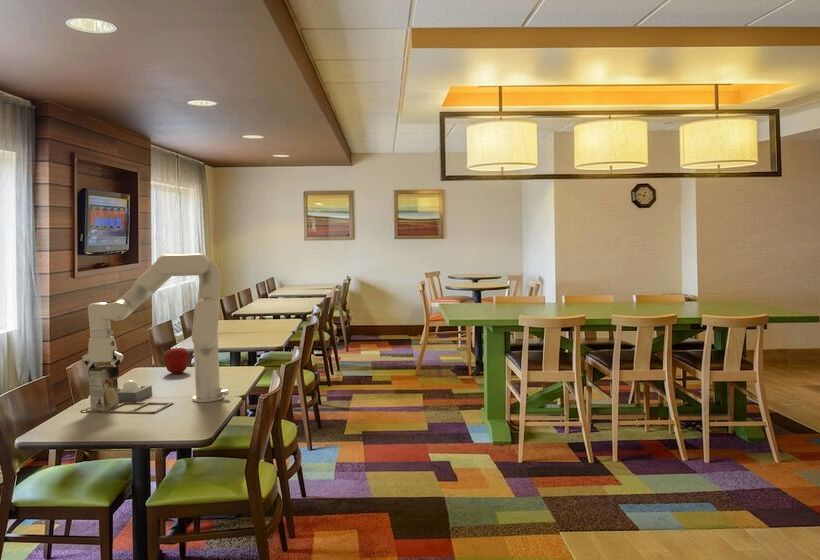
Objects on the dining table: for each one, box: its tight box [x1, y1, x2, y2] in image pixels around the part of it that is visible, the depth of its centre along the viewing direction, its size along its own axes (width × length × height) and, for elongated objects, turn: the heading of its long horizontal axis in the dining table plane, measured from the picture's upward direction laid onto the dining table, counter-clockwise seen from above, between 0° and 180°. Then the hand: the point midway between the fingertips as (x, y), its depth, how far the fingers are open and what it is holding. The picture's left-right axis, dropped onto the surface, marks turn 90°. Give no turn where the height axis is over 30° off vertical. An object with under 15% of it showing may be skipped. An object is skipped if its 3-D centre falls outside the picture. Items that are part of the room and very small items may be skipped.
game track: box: [80, 401, 174, 415], centre depth 258 cm, size 31×14×1 cm, turn 81°
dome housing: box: [118, 385, 153, 402], centre depth 274 cm, size 12×12×4 cm
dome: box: [119, 379, 142, 392], centre depth 274 cm, size 8×8×6 cm
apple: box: [163, 347, 190, 375], centre depth 323 cm, size 12×12×13 cm
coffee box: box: [87, 364, 119, 410], centre depth 259 cm, size 9×6×16 cm
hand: (104, 376), depth 259 cm, fingers open, 9 cm apart
